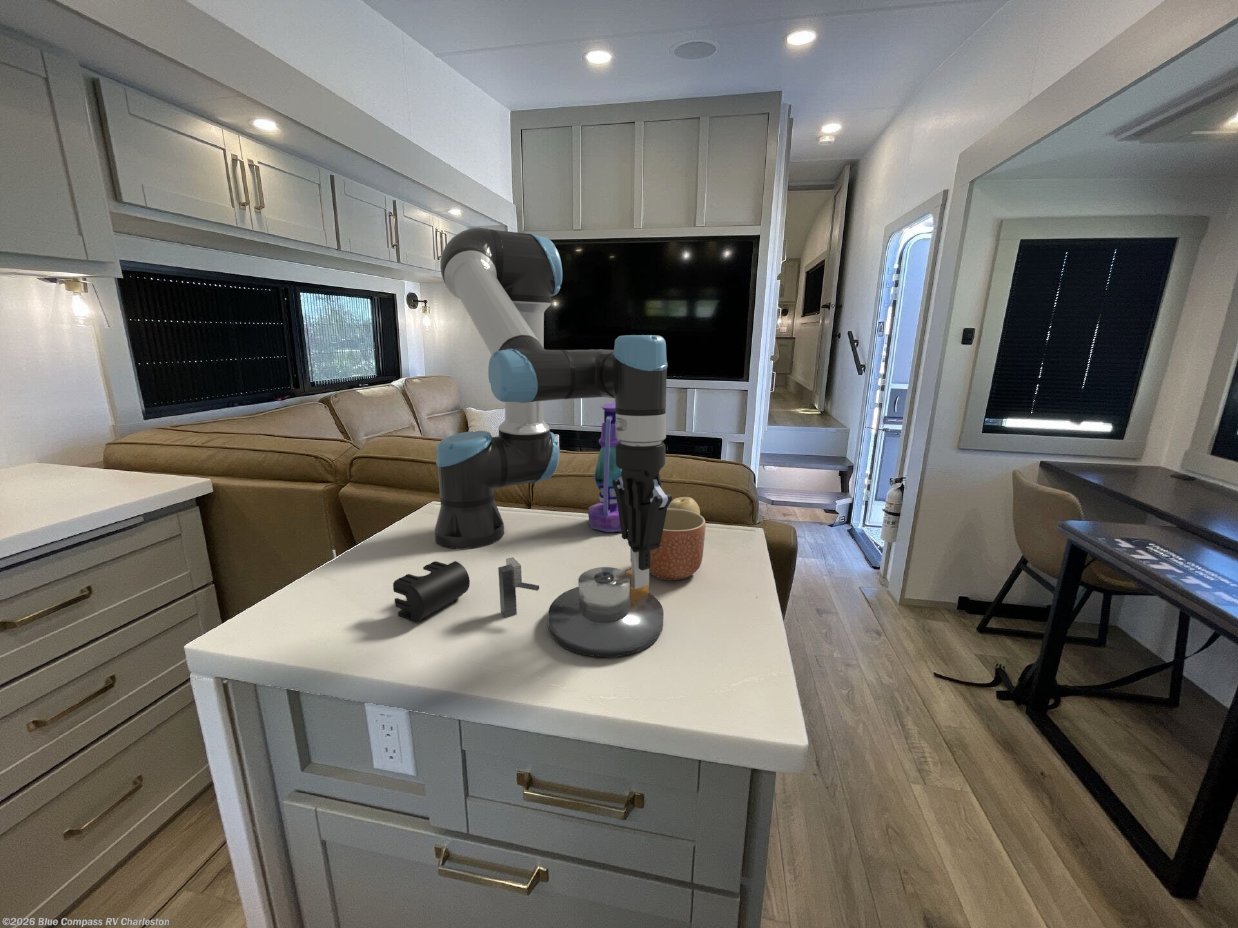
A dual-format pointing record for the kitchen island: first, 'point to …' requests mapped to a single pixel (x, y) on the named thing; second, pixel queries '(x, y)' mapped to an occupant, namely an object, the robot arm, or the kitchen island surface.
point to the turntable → (606, 625)
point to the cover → (604, 594)
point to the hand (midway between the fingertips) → (640, 585)
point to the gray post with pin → (511, 586)
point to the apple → (685, 504)
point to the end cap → (430, 589)
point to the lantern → (606, 476)
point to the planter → (679, 545)
